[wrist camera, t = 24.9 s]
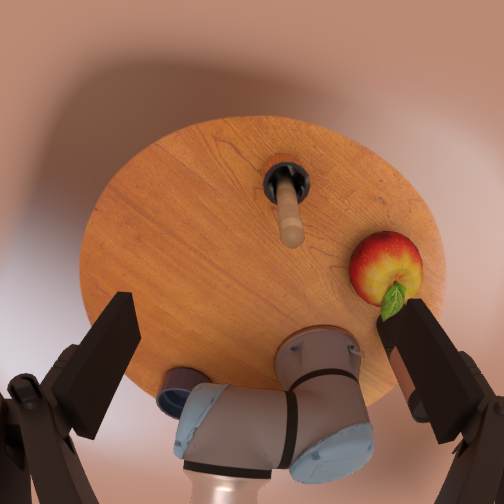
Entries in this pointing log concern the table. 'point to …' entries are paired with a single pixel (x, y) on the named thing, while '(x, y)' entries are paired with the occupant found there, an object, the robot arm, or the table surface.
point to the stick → (288, 210)
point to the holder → (297, 173)
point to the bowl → (177, 390)
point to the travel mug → (400, 364)
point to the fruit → (386, 271)
